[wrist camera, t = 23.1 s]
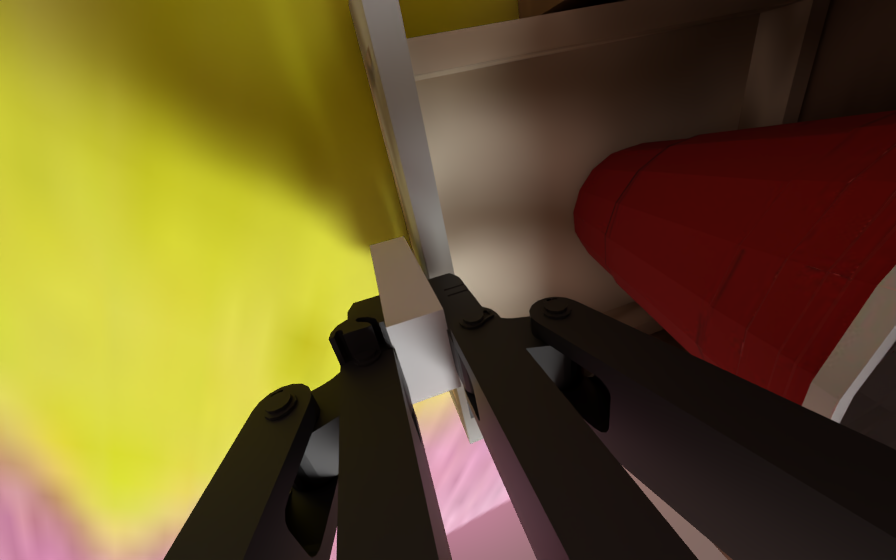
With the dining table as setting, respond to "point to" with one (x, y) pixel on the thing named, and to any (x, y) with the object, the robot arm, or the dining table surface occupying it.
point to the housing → (819, 65)
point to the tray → (562, 126)
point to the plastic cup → (765, 255)
